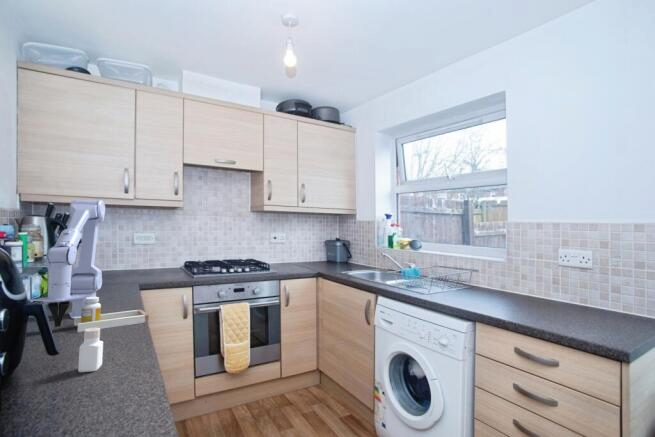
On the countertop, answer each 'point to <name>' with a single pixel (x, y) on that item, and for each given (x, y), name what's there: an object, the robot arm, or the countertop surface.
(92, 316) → the supplement bottle
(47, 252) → the robot arm
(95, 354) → the white square pill bottle
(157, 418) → the countertop surface
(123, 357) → the countertop surface
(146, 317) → the white shallow tray
